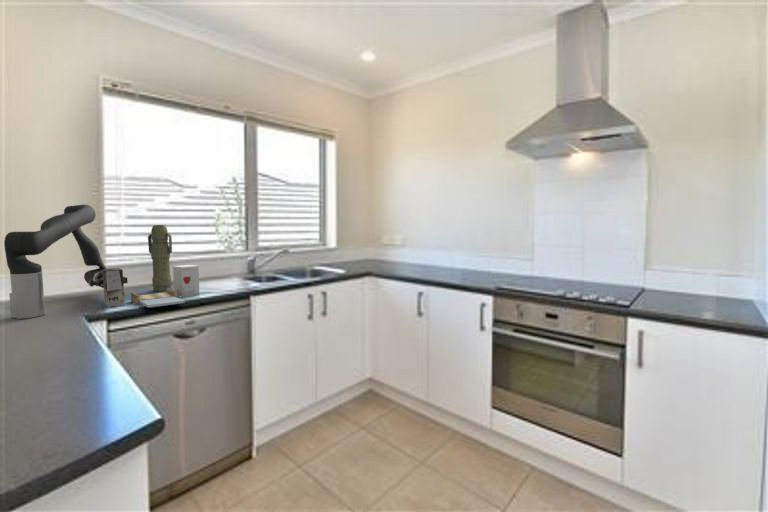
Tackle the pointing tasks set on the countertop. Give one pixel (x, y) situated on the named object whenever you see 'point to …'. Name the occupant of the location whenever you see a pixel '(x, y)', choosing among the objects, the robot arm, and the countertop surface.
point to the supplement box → (186, 280)
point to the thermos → (160, 257)
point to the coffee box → (113, 287)
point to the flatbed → (151, 296)
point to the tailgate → (161, 301)
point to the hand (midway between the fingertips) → (111, 283)
